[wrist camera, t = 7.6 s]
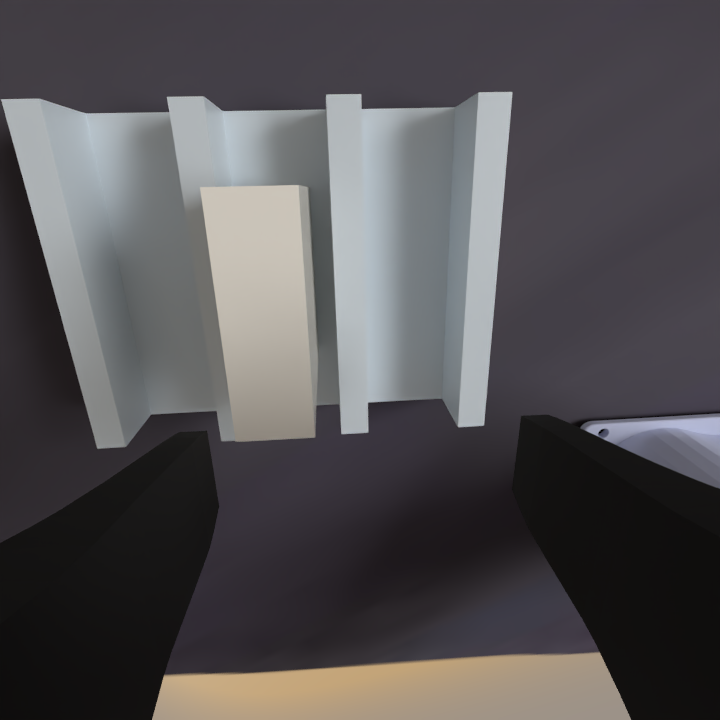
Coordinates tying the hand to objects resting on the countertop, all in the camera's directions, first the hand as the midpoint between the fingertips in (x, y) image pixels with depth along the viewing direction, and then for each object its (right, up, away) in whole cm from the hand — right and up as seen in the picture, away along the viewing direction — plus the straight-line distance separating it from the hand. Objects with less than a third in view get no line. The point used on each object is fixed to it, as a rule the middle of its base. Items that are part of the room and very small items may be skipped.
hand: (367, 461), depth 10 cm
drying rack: (-3, +6, +8) cm, 10 cm away
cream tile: (-3, +6, +7) cm, 9 cm away
